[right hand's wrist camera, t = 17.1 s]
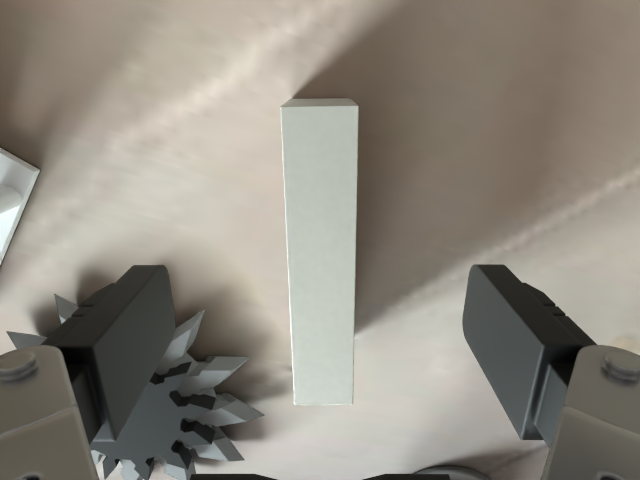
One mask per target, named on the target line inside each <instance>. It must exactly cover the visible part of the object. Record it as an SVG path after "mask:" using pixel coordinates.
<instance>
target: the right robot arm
mask: <svg viewBox="0 0 640 480" xmlns="http://www.w3.org/2000/svg"><path fill="white" fill-rule="evenodd" d="M174 331H175V314H174V307H173V301H172V294H171V287H170V281H169V275H168V271H167V268H166V267H165V266H164V265H134V266H132V267H131V268H130V269H129V270H128V271H127V272H126V273H125V274H124V275H123V276H122V277H121V278H120V279H119V280H118V281H117V282H116V283H112V284H110V285H108V286H107V287H105V288H103V289H101V290H99V291H97V292H95V293H94V294H93V295H92V296H91V297H89V298H88V299H87V300H86V301H85V302H84V303H83V304H82V307H79V308H78V309H77V310H76V311H75V312H74V313H73V314H72V316H71V317H69V318H68V319H67V320H66V321H64V322H63V323H62V324H61V325H60V326H59V327H58V328H57V329H56V330H55V331H54V332H53V333H52V334H51V335H50V336H49V337H48V338H47V339H46V340H45V341H44V342H43V343H42V344H41V345H35V346H28V347H23V348H20V349H16V350H13V351H10V352H8V353H5V354H3V355H1V356H0V480H99V477H98V474H97V470H96V467H95V463H94V460H93V457H92V453H91V450H90V444H91V443H92V441H116V440H117V438H118V436H119V434H120V433H121V431H122V429H123V427H124V425H125V424H126V422H127V420H128V418H129V416H130V415H131V413H132V411H133V409H134V408H135V406H136V404H137V402H138V400H139V399H140V397H141V395H142V393H143V391H144V390H145V388H146V386H147V384H148V382H149V381H150V379H151V377H152V375H153V374H154V372H155V370H156V368H157V366H158V365H159V363H160V361H161V359H162V357H163V356H164V354H165V352H166V350H167V349H168V347H169V345H170V343H171V341H172V339H173V336H174ZM463 331H464V336H465V339H466V341H467V343H468V345H469V346H470V348H471V350H472V352H473V354H474V356H475V357H476V359H477V361H478V363H479V365H480V366H481V368H482V370H483V372H484V374H485V375H486V377H487V379H488V381H489V383H490V384H491V386H492V388H493V390H494V392H495V393H496V395H497V397H498V399H499V401H500V403H501V404H502V406H503V408H504V410H505V412H506V413H507V415H508V417H509V419H510V421H511V422H512V424H513V426H514V428H515V430H516V431H517V433H518V435H519V437H520V439H521V440H544V441H545V442H546V444H547V445H548V447H549V449H550V450H549V453H548V457H547V460H546V463H545V467H544V470H543V474H542V477H541V480H640V356H639V355H637V354H635V353H632V352H630V351H627V350H624V349H620V348H617V347H612V346H605V345H597V344H596V343H595V342H594V341H593V340H592V339H591V338H590V337H589V336H588V335H587V334H586V333H585V332H584V331H582V330H581V329H580V328H579V327H578V326H577V325H576V324H575V323H574V322H573V321H572V320H571V319H570V318H569V317H568V316H565V313H564V312H563V311H562V310H561V309H560V308H559V307H556V306H555V303H554V302H553V301H552V300H551V299H549V298H548V297H547V296H546V295H545V294H544V293H543V292H541V291H539V290H538V289H536V288H534V287H532V286H530V285H528V284H527V283H522V282H521V281H520V280H519V279H518V278H517V277H516V276H515V275H514V274H513V273H512V272H511V271H510V270H509V269H508V268H507V267H506V266H505V265H473V266H472V267H471V269H470V272H469V278H468V285H467V292H466V298H465V305H464V312H463ZM190 480H277V479H273V478H269V477H265V476H261V475H257V474H191V477H190ZM363 480H450V477H449V474H383V475H379V476H375V477H371V478H367V479H363Z"/></svg>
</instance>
